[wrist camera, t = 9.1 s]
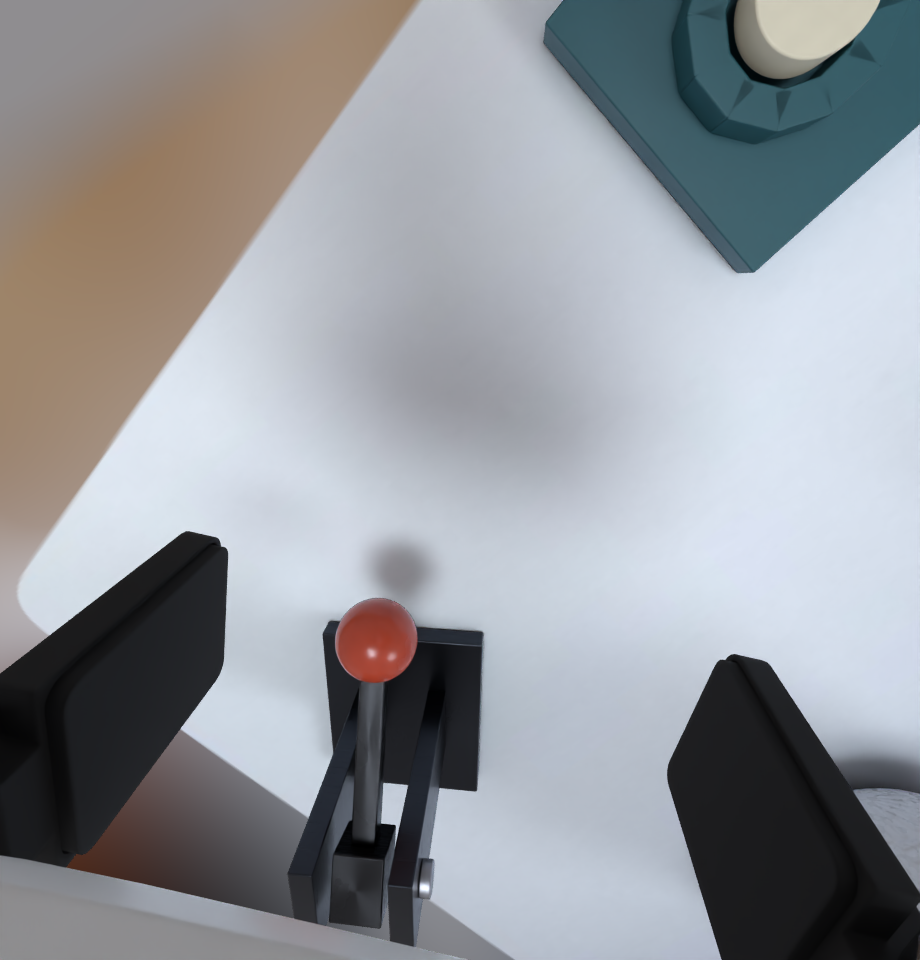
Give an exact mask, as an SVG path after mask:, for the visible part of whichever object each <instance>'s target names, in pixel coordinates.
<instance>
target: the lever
mask: <svg viewBox="0 0 920 960" xmlns="http://www.w3.org/2000/svg"><path fill="white" fill-rule="evenodd" d="M417 642H418V635H417V629H416V625H415V623H414V620H413V618H412V617H411V615H410V614H409V612H408V611H407V610H406V609H405V608H404V607H403V606H401V605H400V604H398V603H397V602H395V601H392V600H389V599H385V598H371V599H367V600H364V601H362V602H359V603H358V604H356V605H354V606H353V607H352V608H350V609H349V610H348V612H347V613H346V614H345V615H344V616H343V618H342V619H341V621H340V623H339V625H338V628H337V631H336V636H335V649H336V654H337V657H338V659H339V662H340V663H341V665H342V667H343V668H344V669H345V670H346V671H347V672H348V673H349V674H350V675H351V676H353V677H354V678H356V679H358V680H360V687H359V705H358V723H357V740H356V758H355V776H354V793H353V811H352V821H351V820H350V821H349V822H348V824H347V826H346V828H345V830H344V832H343V834H342V837H341V839H340V841H339V843H338V845H337V847H336V849H335V851H334V853H333V859H332V876H331V894H330V911H329V922H330V923H338V924H345V925H354V926H362V927H370V928H378V929H379V928H381V925H382V922H383V918H384V915H385V911H386V908H387V904H388V888H387V884H388V879H389V874H390V870H391V865H392V860H393V855H394V851H395V832H396V826H395V825H390V824H381V813H382V795H383V777H384V758H385V740H386V722H387V704H388V685H389V680H391V679H393V678H395V677H397V676H399V675H400V674H401V673H402V672H403V671H404V670H405V669H406V668H407V667H408V666H409V664H410V663H411V661H412V659H413V657H414V655H415V652H416V648H417Z"/></svg>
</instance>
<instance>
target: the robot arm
mask: <svg viewBox="0 0 920 960" xmlns="http://www.w3.org/2000/svg"><path fill="white" fill-rule="evenodd" d="M227 570H228V551H227V549H226V548H225V547H221V543H220V541H219V539H218V538H216V537H212V536H207V535H203V534H199V533H194V532H190V531H185V532H184V533H182V534H180V535H179V536H178V537H177V538H175V539H174V540H173V541H171V542H170V543H169V544H167V545H166V546H165V547H164V548H162V549H161V550H160V551H158V552H157V553H156V554H154V555H153V556H152V557H151V558H149V559H148V560H147V561H145V562H144V563H143V564H142V565H140V566H139V567H138V568H136V569H135V570H134V571H132V572H131V573H130V574H129V575H127V576H126V577H125V578H123V579H122V580H121V581H120V582H118V583H117V584H116V585H114V586H113V587H112V588H110V589H109V590H108V591H107V592H105V593H104V594H103V595H101V596H100V597H99V598H98V599H96V600H95V601H94V602H92V603H91V604H90V605H88V606H87V607H86V608H85V609H83V610H82V611H81V612H79V613H78V614H77V615H75V616H74V617H73V618H72V619H70V620H69V621H68V622H66V623H65V624H64V625H63V626H61V627H60V628H59V629H57V630H56V631H55V632H53V633H52V634H51V635H50V636H48V637H47V638H46V639H44V640H43V641H42V642H41V643H39V644H38V645H37V646H35V647H34V648H33V649H31V650H30V651H29V652H28V653H26V654H25V655H24V656H23V657H21V658H20V659H19V660H17V661H16V662H15V663H13V664H12V665H11V666H9V667H8V668H7V669H6V670H4V671H3V672H2V673H0V960H467V959H463V958H459V957H454V956H450V955H446V954H442V953H438V952H433V951H429V950H425V949H420V948H416V947H412V946H408V945H404V944H399V943H395V942H391V941H386V940H383V939H378V938H374V937H370V936H365V935H361V934H357V933H353V932H349V931H344V930H340V929H336V928H331V927H327V926H323V925H319V924H314V923H310V922H306V921H301V920H297V919H293V918H288V917H284V916H280V915H275V914H271V913H267V912H262V911H258V910H254V909H249V908H245V907H241V906H236V905H232V904H227V903H223V902H219V901H215V900H210V899H206V898H202V897H197V896H193V895H189V894H184V893H180V892H176V891H171V890H167V889H163V888H158V887H154V886H150V885H145V884H141V883H136V882H131V881H126V880H122V879H117V878H112V877H107V876H102V875H97V874H93V873H88V872H83V871H79V870H74V869H69V868H66V867H67V866H68V864H69V863H70V862H71V860H72V859H73V858H74V856H75V855H76V854H80V855H83V854H86V853H87V852H88V851H89V850H90V849H91V848H92V847H93V846H94V845H95V844H96V842H97V841H98V840H99V838H100V837H101V836H102V834H103V833H104V831H105V830H106V829H107V827H108V826H109V825H110V823H111V822H112V821H113V819H114V818H115V816H116V815H117V814H118V812H119V811H120V810H121V808H122V807H123V806H124V804H125V803H126V802H127V800H128V799H129V798H130V796H131V795H132V793H133V792H134V791H135V790H136V788H137V787H138V785H139V784H140V782H141V781H142V780H143V779H144V777H145V776H146V774H147V773H148V772H149V771H150V769H151V768H152V766H153V765H154V764H155V762H156V761H157V760H158V758H159V757H160V756H161V754H162V753H163V752H164V750H165V749H166V747H167V746H168V745H169V743H170V742H171V741H172V739H173V738H174V737H175V735H176V734H177V733H178V731H179V730H180V729H181V727H182V726H183V725H184V723H185V722H186V720H187V719H188V718H189V716H190V715H191V714H192V712H193V711H194V710H195V708H196V707H197V706H198V704H199V703H200V702H201V700H202V699H203V697H204V696H205V695H206V693H207V692H208V691H209V689H210V688H211V687H212V685H213V684H214V683H215V681H216V680H217V678H218V676H219V674H220V672H221V669H222V666H223V662H224V644H225V620H226V595H227ZM667 778H668V784H669V788H670V791H671V794H672V798H673V801H674V804H675V808H676V811H677V814H678V818H679V821H680V824H681V827H682V831H683V834H684V837H685V841H686V844H687V847H688V850H689V854H690V857H691V860H692V864H693V867H694V870H695V873H696V877H697V880H698V883H699V887H700V890H701V893H702V897H703V900H704V903H705V906H706V910H707V913H708V916H709V920H710V923H711V926H712V929H713V933H714V936H715V939H716V943H717V946H718V949H719V953H720V956H721V959H722V960H920V911H919V910H918V908H917V905H918V904H919V903H920V892H919V891H918V889H917V888H916V886H915V885H914V883H913V881H912V880H911V878H910V877H909V875H908V874H907V872H906V871H905V869H904V868H903V866H902V865H901V863H900V862H899V860H898V859H897V857H896V856H895V854H894V853H893V851H892V850H891V848H890V847H889V845H888V844H887V842H886V840H885V839H884V837H883V836H882V834H881V833H880V831H879V830H878V828H877V827H876V825H875V824H874V822H873V821H872V819H871V818H870V816H869V815H868V813H867V812H866V810H865V809H864V807H863V806H862V804H861V803H860V801H859V799H858V798H857V796H856V795H855V793H854V792H853V790H852V789H851V787H850V786H849V784H848V783H847V781H846V780H845V778H844V777H843V775H842V774H841V772H840V771H839V769H838V768H837V766H836V765H835V763H834V762H833V760H832V758H831V757H830V755H829V754H828V752H827V751H826V749H825V748H824V746H823V745H822V743H821V742H820V740H819V739H818V737H817V736H816V734H815V733H814V731H813V730H812V728H811V727H810V725H809V724H808V722H807V721H806V719H805V717H804V716H803V714H802V713H801V711H800V710H799V708H798V707H797V705H796V704H795V702H794V701H793V699H792V698H791V696H790V695H789V693H788V692H787V690H786V689H785V687H784V686H783V684H782V683H781V681H780V680H779V678H778V676H777V675H776V673H775V672H774V670H773V669H772V667H771V666H770V665H769V664H768V663H767V662H765V661H762V660H758V659H754V658H749V657H745V656H740V655H736V654H733V655H730V656H729V657H727V659H726V660H719V661H718V662H717V663H716V665H715V667H714V669H713V671H712V673H711V675H710V677H709V679H708V682H707V684H706V686H705V688H704V690H703V692H702V694H701V696H700V698H699V700H698V703H697V705H696V707H695V709H694V711H693V713H692V715H691V717H690V719H689V721H688V724H687V726H686V728H685V730H684V732H683V734H682V736H681V738H680V740H679V742H678V745H677V747H676V749H675V751H674V753H673V755H672V757H671V759H670V762H669V764H668V770H667Z"/></svg>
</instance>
